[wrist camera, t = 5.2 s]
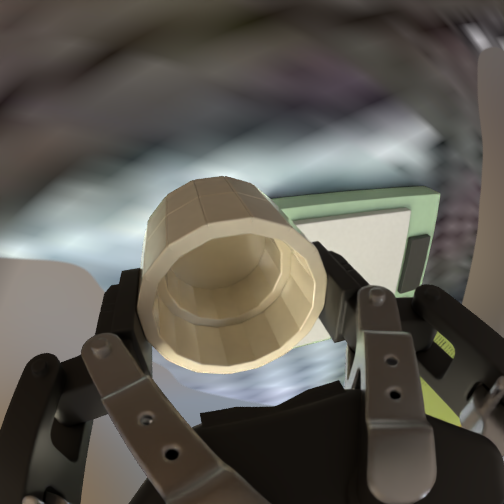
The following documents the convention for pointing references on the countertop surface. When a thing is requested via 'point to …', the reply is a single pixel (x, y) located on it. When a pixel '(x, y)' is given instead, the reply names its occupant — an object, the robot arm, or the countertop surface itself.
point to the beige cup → (226, 278)
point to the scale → (370, 234)
